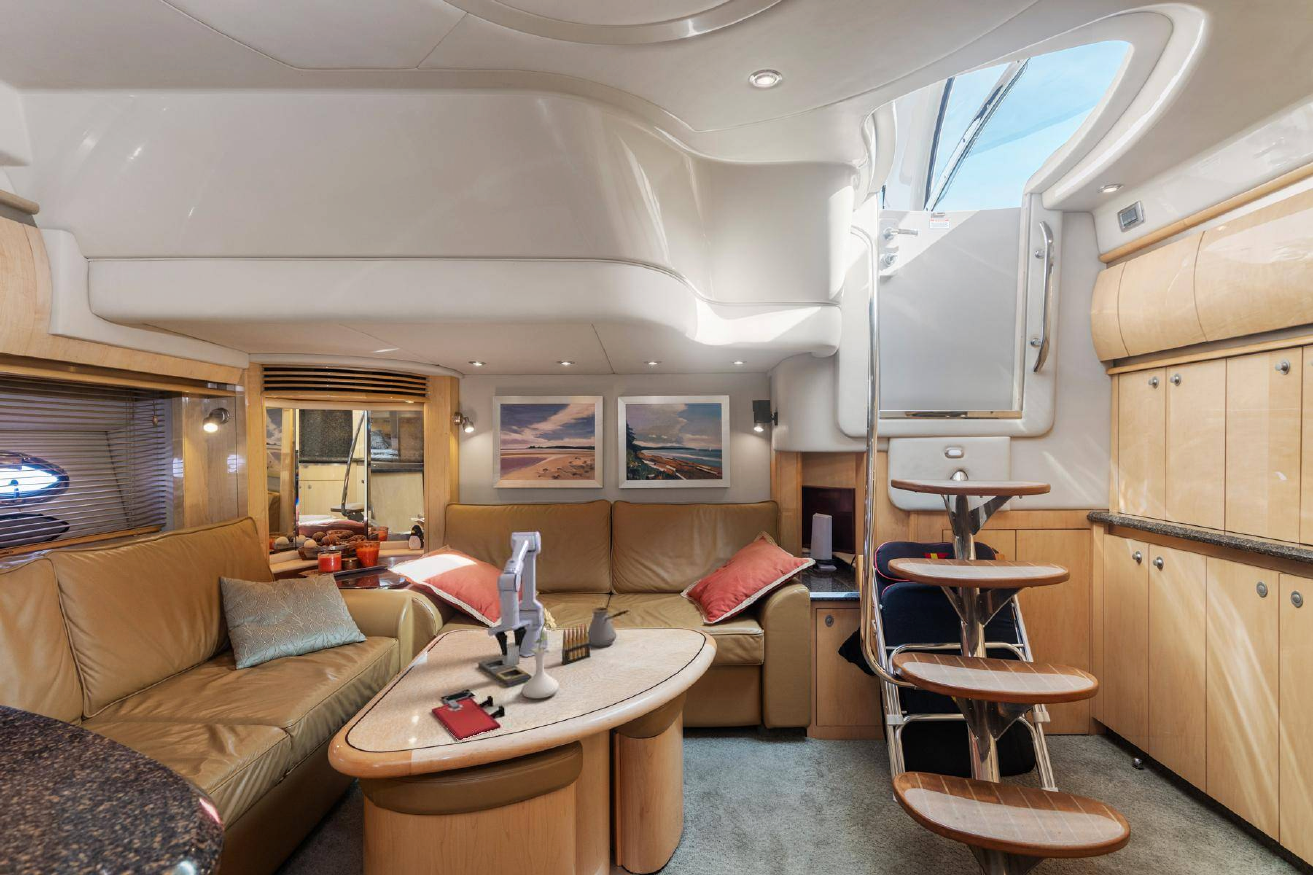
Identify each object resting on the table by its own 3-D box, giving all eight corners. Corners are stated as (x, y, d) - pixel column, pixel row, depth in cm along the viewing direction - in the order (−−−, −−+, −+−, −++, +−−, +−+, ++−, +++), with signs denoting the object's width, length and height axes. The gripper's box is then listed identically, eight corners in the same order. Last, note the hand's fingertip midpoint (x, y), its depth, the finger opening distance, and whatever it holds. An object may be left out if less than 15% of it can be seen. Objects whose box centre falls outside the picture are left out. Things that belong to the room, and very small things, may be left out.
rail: (500, 661, 210) (500, 656, 211) (531, 680, 192) (531, 675, 192) (478, 667, 206) (478, 662, 206) (508, 687, 187) (508, 682, 187)
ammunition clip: (587, 655, 213) (586, 622, 213) (590, 657, 212) (589, 623, 212) (561, 664, 206) (560, 629, 206) (565, 665, 204) (563, 630, 205)
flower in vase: (547, 704, 174) (544, 617, 174) (513, 699, 178) (511, 615, 178) (569, 686, 186) (566, 605, 186) (537, 682, 190) (534, 603, 190)
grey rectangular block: (513, 660, 197) (513, 642, 197) (519, 664, 194) (519, 645, 194) (502, 663, 195) (502, 645, 195) (507, 667, 191) (507, 648, 191)
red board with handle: (474, 690, 186) (424, 705, 177) (473, 681, 186) (423, 695, 177) (513, 725, 162) (458, 744, 153) (513, 715, 162) (458, 733, 153)
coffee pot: (579, 644, 225) (578, 604, 226) (602, 636, 234) (601, 598, 234) (619, 656, 211) (617, 614, 211) (641, 648, 219) (640, 606, 220)
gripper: (493, 618, 187) (494, 661, 186) (535, 608, 196) (537, 650, 195) (484, 613, 192) (485, 656, 192) (526, 604, 201) (527, 645, 201)
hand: (511, 653), depth 194 cm, fingers closed on grey rectangular block, 4 cm apart
